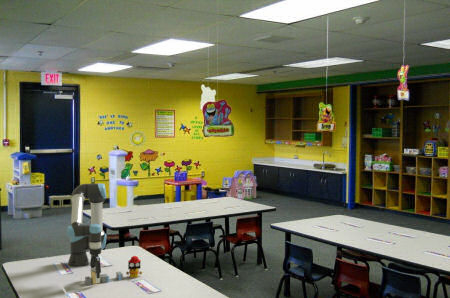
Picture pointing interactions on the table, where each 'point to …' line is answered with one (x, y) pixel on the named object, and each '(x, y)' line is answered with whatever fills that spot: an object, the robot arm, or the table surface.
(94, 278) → the tan yellow block
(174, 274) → the table surface
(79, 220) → the robot arm
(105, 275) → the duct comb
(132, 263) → the toy
